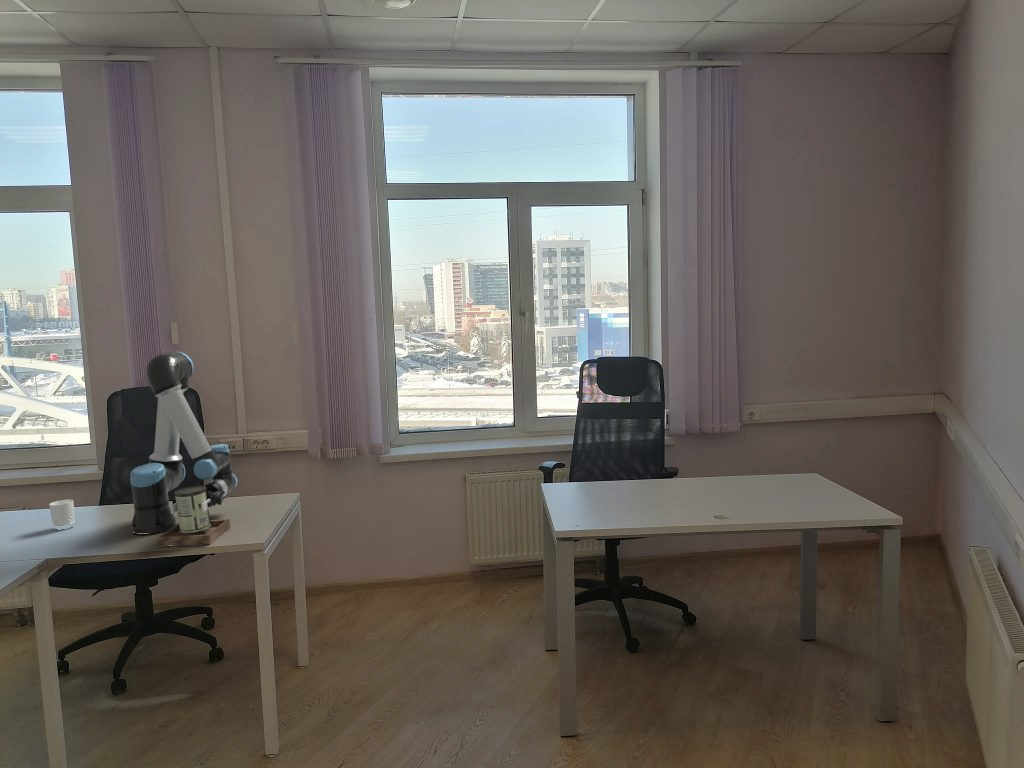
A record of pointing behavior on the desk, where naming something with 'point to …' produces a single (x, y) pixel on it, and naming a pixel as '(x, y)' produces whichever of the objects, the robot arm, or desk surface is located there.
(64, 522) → the white cup
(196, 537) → the holder tray
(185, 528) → the coffee can
